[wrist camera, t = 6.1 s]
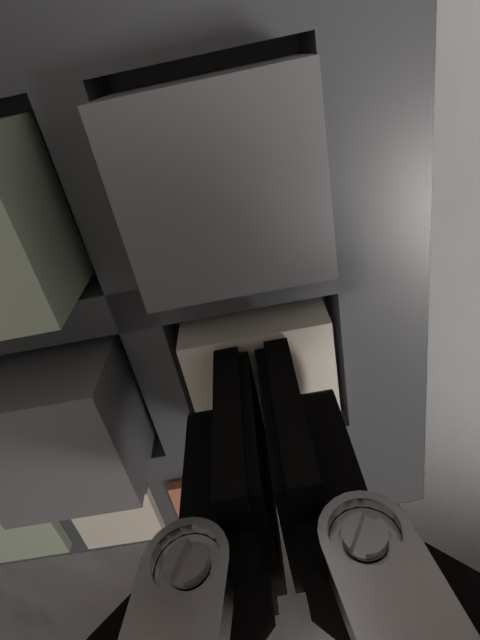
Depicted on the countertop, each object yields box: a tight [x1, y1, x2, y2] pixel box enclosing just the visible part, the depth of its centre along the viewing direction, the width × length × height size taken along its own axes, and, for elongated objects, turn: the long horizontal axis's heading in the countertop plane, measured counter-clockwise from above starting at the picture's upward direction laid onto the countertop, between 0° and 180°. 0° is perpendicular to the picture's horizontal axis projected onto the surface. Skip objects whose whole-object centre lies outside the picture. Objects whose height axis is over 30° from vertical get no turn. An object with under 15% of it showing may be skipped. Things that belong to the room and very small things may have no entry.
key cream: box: [176, 297, 341, 427], centre depth 12 cm, size 3×3×2 cm
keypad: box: [0, 0, 437, 565], centre depth 11 cm, size 18×14×4 cm
